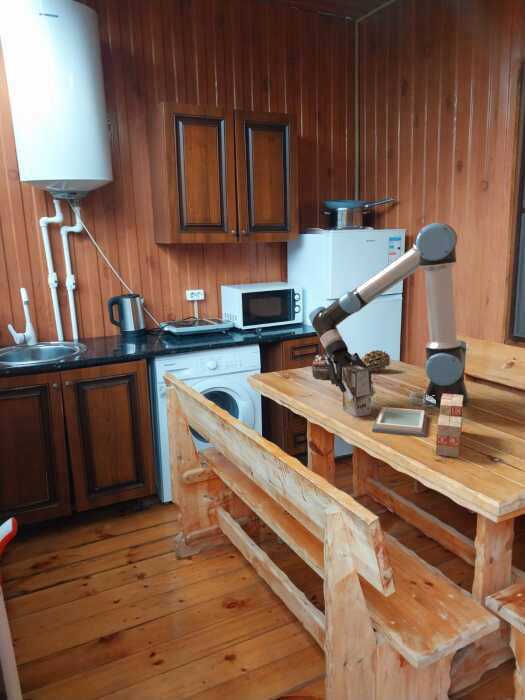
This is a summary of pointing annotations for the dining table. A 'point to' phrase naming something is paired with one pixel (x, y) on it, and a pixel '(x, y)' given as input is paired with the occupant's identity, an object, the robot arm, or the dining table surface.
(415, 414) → the holder board
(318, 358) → the cupcake
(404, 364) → the dining table surface
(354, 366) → the coffee box
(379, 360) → the pine cone
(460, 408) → the stack of blocks
